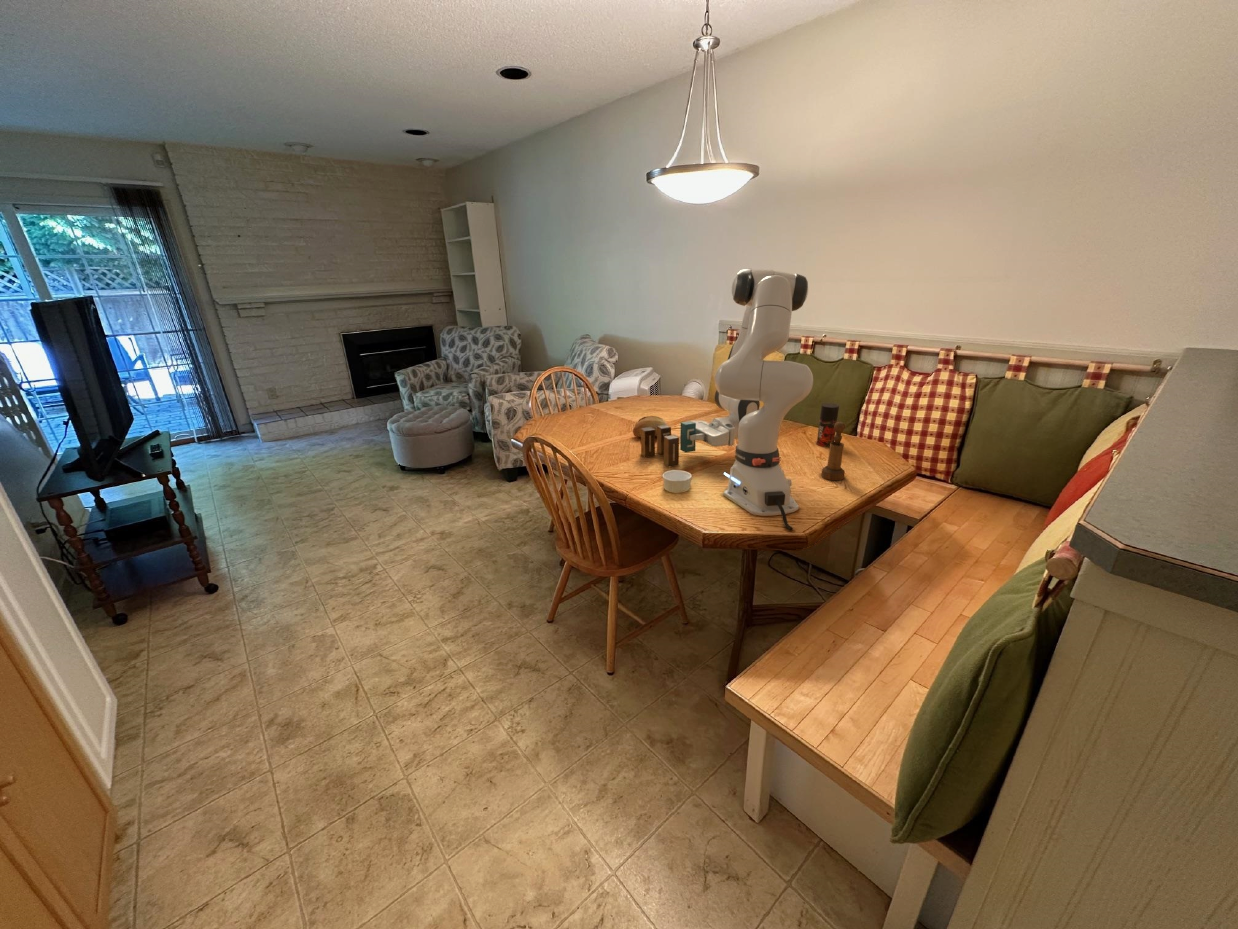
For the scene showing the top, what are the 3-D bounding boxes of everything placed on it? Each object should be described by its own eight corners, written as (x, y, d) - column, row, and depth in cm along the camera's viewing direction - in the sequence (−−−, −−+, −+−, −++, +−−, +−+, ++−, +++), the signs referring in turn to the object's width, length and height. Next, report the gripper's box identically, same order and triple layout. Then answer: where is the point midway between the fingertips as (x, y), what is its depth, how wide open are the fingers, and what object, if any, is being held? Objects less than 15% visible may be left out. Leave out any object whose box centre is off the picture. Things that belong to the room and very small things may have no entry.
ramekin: (656, 488, 148) (656, 475, 146) (676, 480, 153) (676, 467, 151) (677, 496, 141) (677, 483, 140) (697, 488, 147) (697, 475, 145)
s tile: (690, 448, 168) (690, 420, 165) (695, 451, 165) (696, 423, 162) (680, 449, 167) (680, 422, 164) (685, 452, 164) (685, 424, 160)
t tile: (666, 450, 179) (666, 424, 176) (671, 453, 176) (671, 427, 173) (657, 451, 178) (656, 426, 174) (661, 454, 175) (661, 428, 171)
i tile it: (650, 452, 177) (650, 426, 174) (655, 455, 174) (655, 429, 170) (641, 454, 176) (640, 428, 172) (645, 457, 173) (644, 431, 169)
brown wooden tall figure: (836, 472, 155) (843, 418, 148) (848, 479, 149) (856, 424, 142) (817, 473, 154) (824, 420, 147) (828, 481, 148) (836, 426, 141)
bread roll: (631, 433, 199) (630, 415, 196) (666, 431, 201) (666, 412, 198) (634, 440, 190) (634, 421, 188) (671, 438, 192) (671, 419, 189)
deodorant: (813, 444, 180) (818, 405, 175) (821, 440, 184) (826, 402, 178) (828, 447, 176) (834, 408, 171) (836, 444, 180) (842, 405, 174)
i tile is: (673, 461, 168) (674, 434, 164) (678, 465, 165) (679, 437, 161) (663, 463, 167) (663, 436, 163) (668, 467, 163) (668, 439, 160)
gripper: (705, 414, 176) (671, 419, 172) (737, 429, 159) (701, 434, 154) (704, 431, 179) (671, 436, 174) (736, 446, 161) (700, 453, 156)
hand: (685, 435), depth 164 cm, fingers closed on s tile, 4 cm apart
